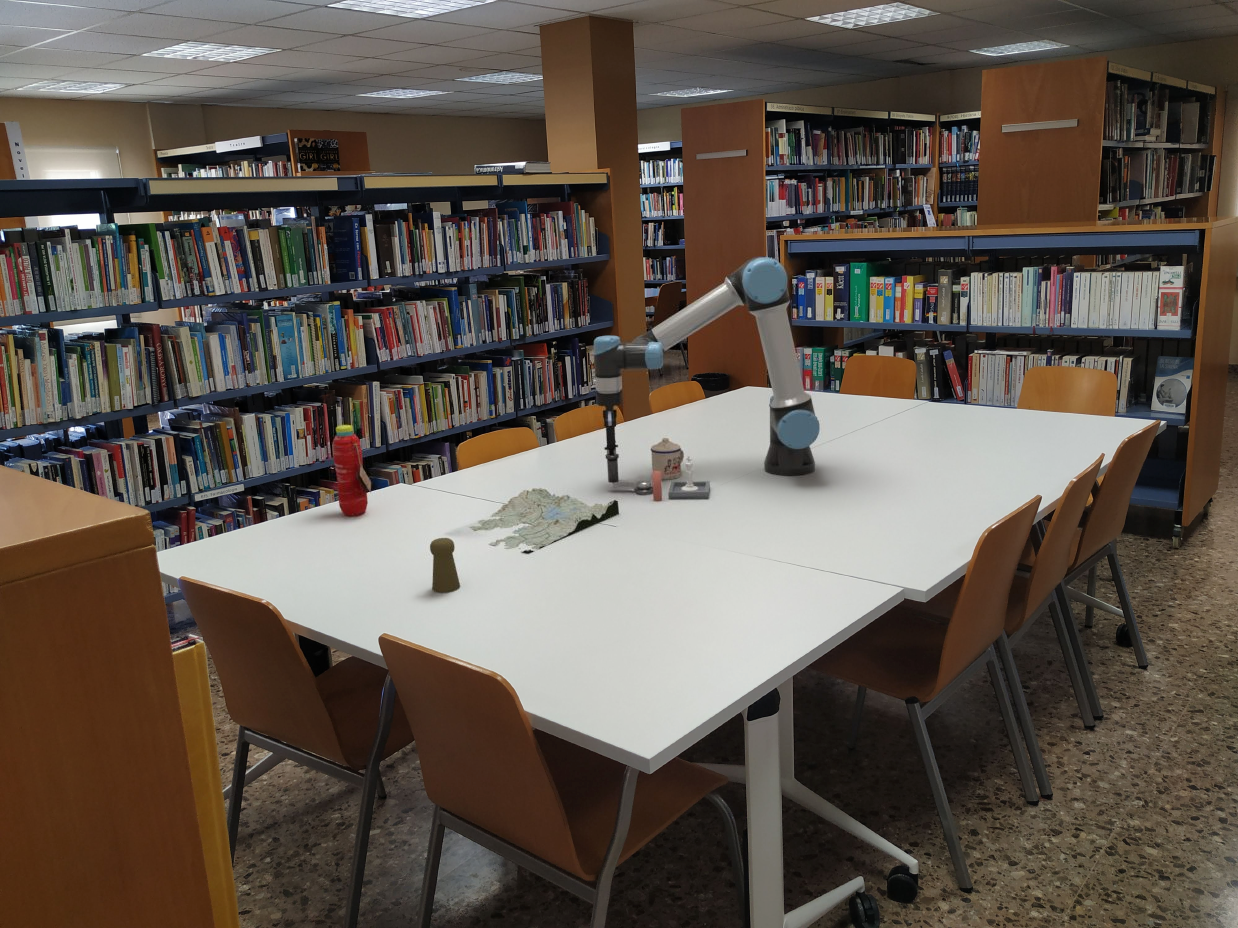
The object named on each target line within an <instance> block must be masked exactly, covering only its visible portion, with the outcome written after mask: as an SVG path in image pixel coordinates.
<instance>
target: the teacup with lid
mask: <svg viewBox="0 0 1238 928" xmlns="http://www.w3.org/2000/svg"><path fill="white" fill-rule="evenodd" d="M650 452H651V472H653V471H661V480H665V481H666V480H667V481H668V480H674V479H677V478H680V477H681V476H682V475H681V474H682V466H681V464H682V463H683V461H684V457H685V454H684V450H682V448H681V445H679V444H677V443H674V442H672V441H671V440H669V438H667V437H664V438H662V439H661V441H659V442H658V443H657V444H653V445H651V447H650Z"/></svg>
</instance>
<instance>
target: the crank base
mask: <svg viewBox="0 0 1238 928" xmlns="http://www.w3.org/2000/svg"><path fill="white" fill-rule="evenodd" d="M633 493H634V494H635V495H639V496H647V495H648V496H649V495H652V494H653V486H652V488H650V489H637V488H633Z"/></svg>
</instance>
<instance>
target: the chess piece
mask: <svg viewBox="0 0 1238 928" xmlns="http://www.w3.org/2000/svg"><path fill="white" fill-rule="evenodd" d="M685 460H686V461H687V462H685V466H686V470H685V473H687V478H686V481H687V484H686V486H684V487H682V488H681V491H699V490H698V487H696V486H694V485H693V483H692V481H693V479H692V473H694V471H693V469H692V468H693V462H692V460H693V458H691V456H690V455H688V456H687V457H686V458H685Z"/></svg>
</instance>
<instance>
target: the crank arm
mask: <svg viewBox="0 0 1238 928" xmlns="http://www.w3.org/2000/svg"><path fill="white" fill-rule="evenodd" d="M619 458H620V455H619V453H617V452H616V453H611V454H607V453H606V454H605V460H606V464H607V466H606V467H607V482H608V483H610V484H611V483H612V488H613V489H615V488H616V489H619V488H620V489H634V488H637V489H650V488H652V487H653V480H650V479H640V480H622V479H621V480H620V479H619V462H618V461H619V460H618V459H619Z"/></svg>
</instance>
